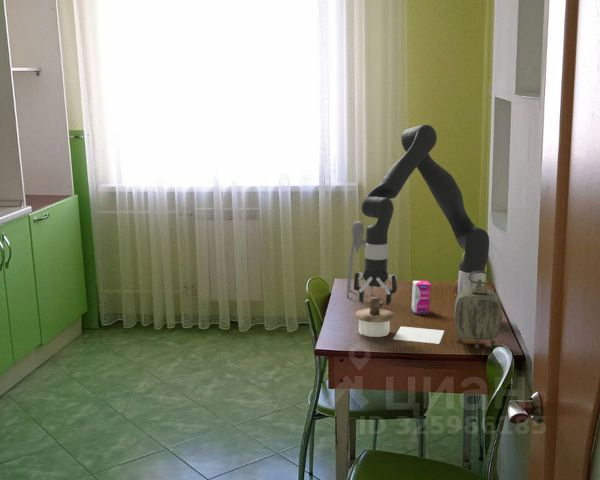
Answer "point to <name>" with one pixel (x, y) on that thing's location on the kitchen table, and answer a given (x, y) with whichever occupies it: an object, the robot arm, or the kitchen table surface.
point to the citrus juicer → (357, 242)
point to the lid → (374, 312)
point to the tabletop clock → (478, 312)
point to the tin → (455, 289)
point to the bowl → (374, 328)
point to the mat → (419, 335)
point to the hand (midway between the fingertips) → (374, 303)
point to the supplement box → (421, 297)
